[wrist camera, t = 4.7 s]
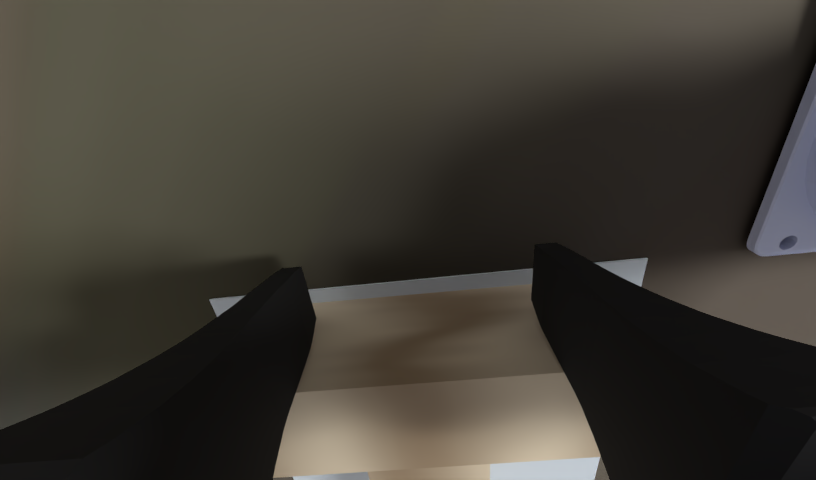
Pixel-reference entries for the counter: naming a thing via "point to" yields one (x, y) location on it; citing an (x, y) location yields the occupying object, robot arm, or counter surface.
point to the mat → (533, 476)
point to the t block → (431, 389)
